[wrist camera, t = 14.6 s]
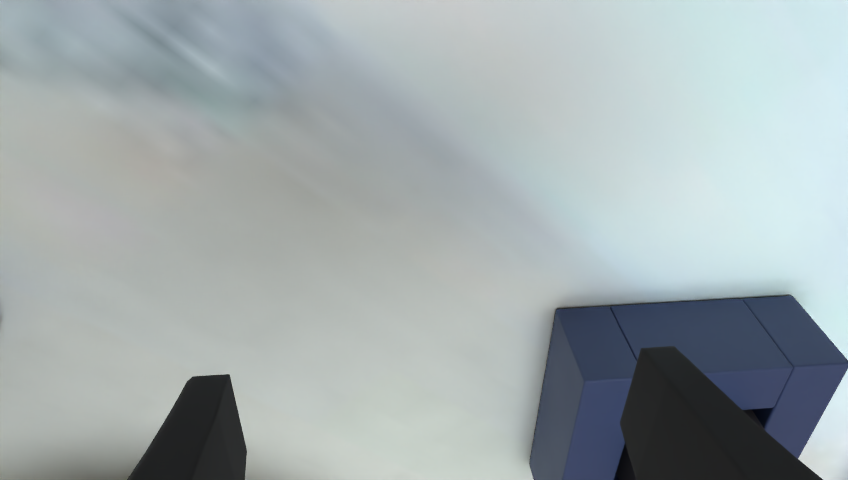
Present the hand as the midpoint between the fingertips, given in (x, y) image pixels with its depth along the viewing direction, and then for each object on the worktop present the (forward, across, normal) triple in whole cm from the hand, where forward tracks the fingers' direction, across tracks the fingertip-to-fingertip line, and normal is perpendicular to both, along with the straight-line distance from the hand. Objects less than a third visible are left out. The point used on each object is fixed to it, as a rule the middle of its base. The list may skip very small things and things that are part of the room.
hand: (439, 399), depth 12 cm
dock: (+9, -10, +11) cm, 18 cm away
